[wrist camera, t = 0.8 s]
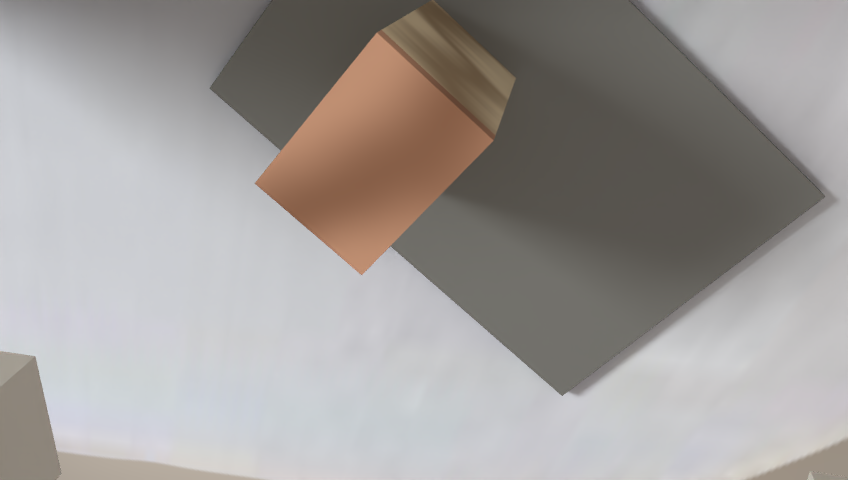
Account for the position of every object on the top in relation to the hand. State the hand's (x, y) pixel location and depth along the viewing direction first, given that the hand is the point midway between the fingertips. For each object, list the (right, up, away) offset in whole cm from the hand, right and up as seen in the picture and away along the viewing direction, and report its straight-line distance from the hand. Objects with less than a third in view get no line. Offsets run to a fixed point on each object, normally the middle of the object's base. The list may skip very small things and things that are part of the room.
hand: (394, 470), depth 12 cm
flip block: (+1, +11, +21) cm, 23 cm away
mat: (+4, +9, +22) cm, 24 cm away
